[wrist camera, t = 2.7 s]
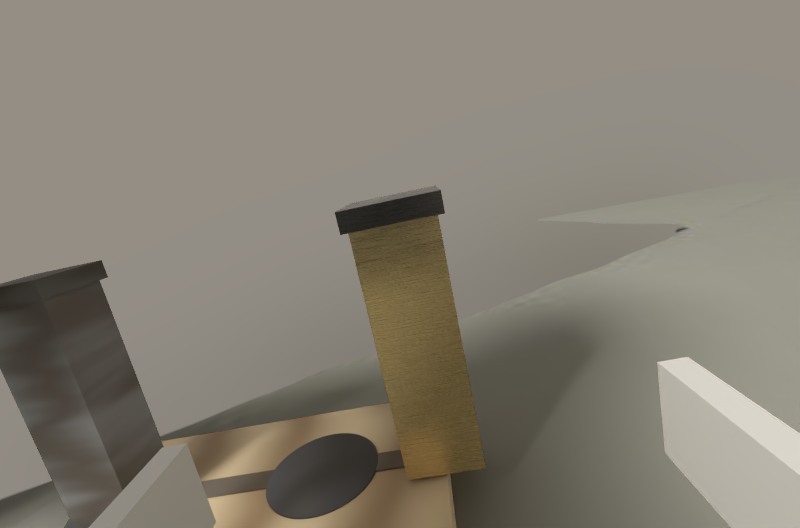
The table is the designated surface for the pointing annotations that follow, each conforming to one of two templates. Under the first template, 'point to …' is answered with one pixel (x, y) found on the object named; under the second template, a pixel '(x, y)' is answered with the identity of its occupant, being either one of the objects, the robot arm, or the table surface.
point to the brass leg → (415, 329)
